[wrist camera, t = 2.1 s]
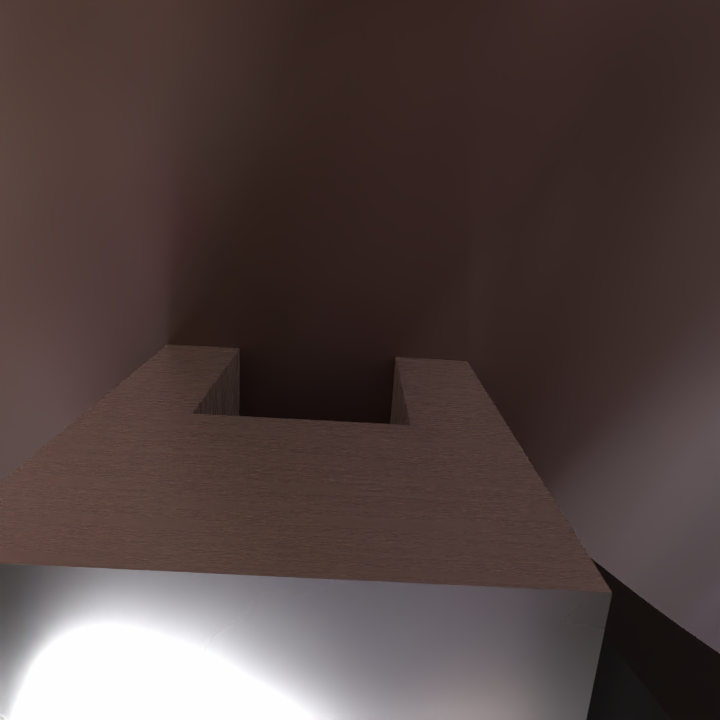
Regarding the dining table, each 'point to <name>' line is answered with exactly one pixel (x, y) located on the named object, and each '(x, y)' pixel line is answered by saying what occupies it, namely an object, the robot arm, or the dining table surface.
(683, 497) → the dining table surface
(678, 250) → the dining table surface
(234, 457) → the block
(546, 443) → the dining table surface
